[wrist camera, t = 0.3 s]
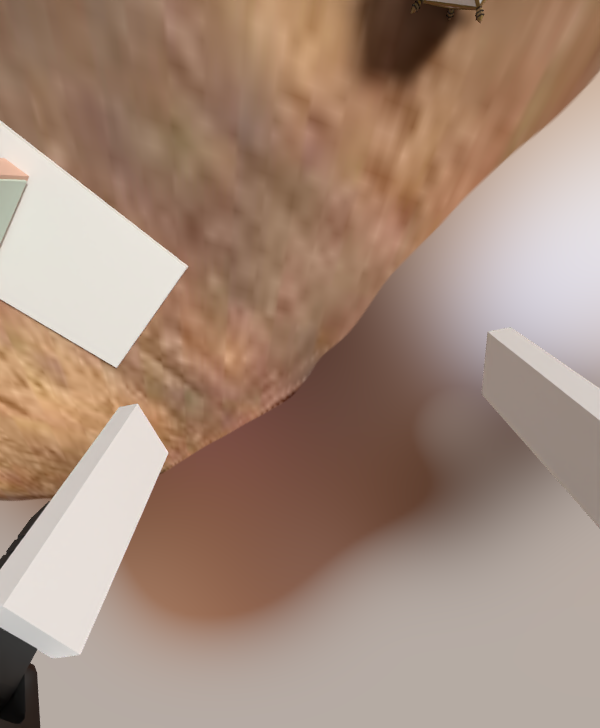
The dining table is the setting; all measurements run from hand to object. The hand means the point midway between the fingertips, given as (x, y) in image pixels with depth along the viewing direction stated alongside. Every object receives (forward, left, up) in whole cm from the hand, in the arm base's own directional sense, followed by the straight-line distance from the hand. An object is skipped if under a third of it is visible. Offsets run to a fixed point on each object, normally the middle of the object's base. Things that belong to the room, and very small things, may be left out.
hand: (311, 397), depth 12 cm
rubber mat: (-6, -25, -27) cm, 37 cm away
